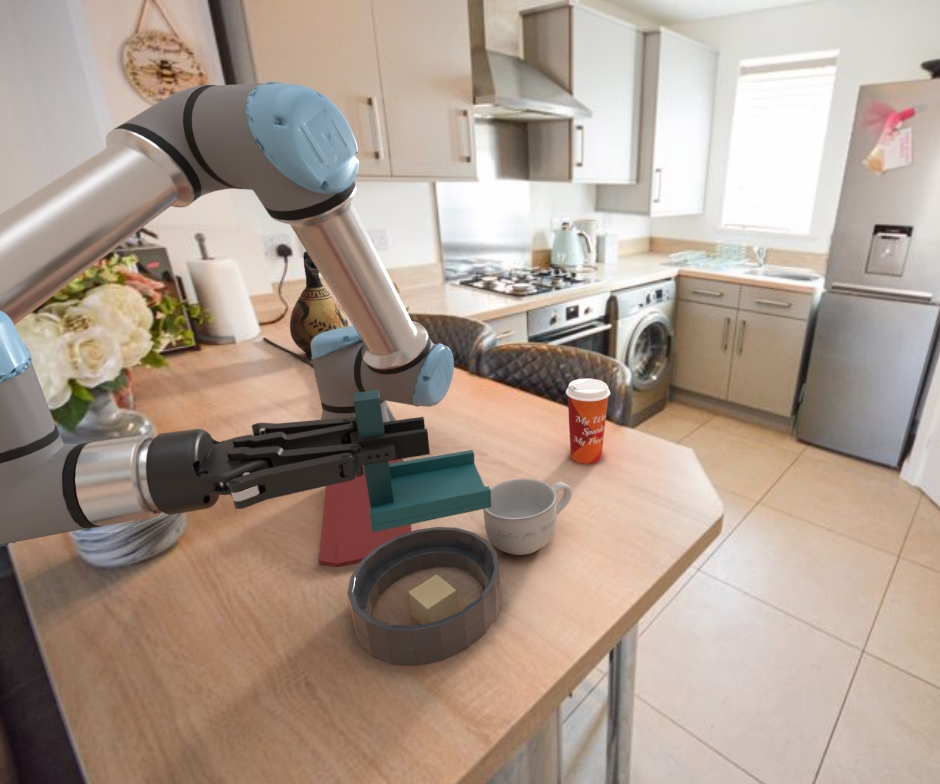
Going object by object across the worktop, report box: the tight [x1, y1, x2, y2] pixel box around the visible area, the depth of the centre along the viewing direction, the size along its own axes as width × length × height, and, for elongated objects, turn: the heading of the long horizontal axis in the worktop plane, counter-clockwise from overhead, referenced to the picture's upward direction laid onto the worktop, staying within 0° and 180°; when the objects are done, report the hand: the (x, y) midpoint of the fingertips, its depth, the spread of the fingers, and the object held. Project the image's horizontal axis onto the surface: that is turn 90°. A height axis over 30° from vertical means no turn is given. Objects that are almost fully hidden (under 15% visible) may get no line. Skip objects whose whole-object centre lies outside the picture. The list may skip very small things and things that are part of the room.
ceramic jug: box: [289, 250, 350, 360], centre depth 148 cm, size 17×15×30 cm
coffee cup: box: [565, 378, 611, 465], centre depth 97 cm, size 8×8×15 cm
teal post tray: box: [353, 390, 491, 532], centre depth 55 cm, size 12×10×13 cm
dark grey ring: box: [347, 526, 502, 667], centre depth 63 cm, size 17×17×6 cm
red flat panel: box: [318, 459, 412, 567], centre depth 81 cm, size 12×5×25 cm
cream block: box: [407, 574, 459, 625], centre depth 62 cm, size 4×4×4 cm
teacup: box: [482, 478, 573, 556], centre depth 75 cm, size 14×11×8 cm
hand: (426, 435), depth 55 cm, fingers closed on teal post tray, 2 cm apart
